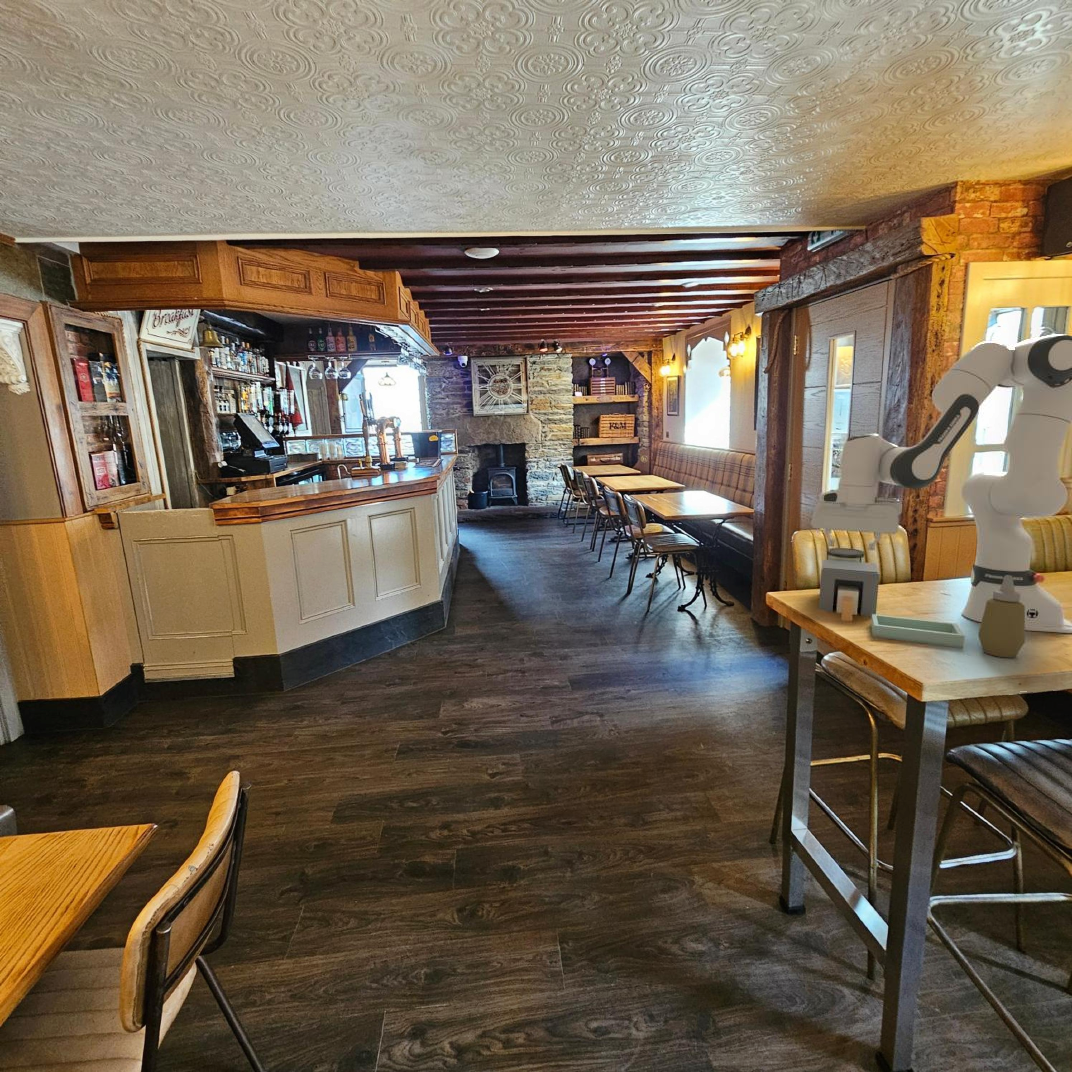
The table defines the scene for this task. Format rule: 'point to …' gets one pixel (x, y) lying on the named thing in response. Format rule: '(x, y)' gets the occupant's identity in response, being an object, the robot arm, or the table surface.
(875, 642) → the table surface
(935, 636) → the tray
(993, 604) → the squeeze bottle
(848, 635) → the table surface
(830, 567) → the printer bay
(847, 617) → the two-tone block
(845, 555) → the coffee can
